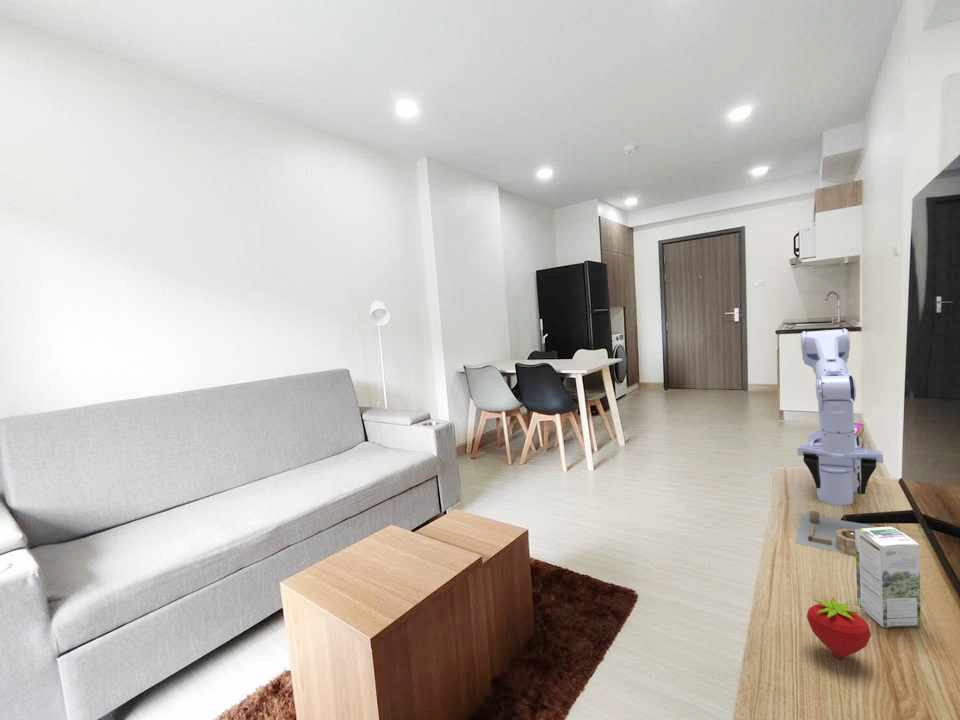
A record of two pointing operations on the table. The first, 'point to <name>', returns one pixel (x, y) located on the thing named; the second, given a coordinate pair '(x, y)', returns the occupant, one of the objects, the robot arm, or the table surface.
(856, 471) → the candy bar box
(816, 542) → the board
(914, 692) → the table surface
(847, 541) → the ring
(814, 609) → the strawberry
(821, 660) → the table surface
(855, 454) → the robot arm
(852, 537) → the end peg
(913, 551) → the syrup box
